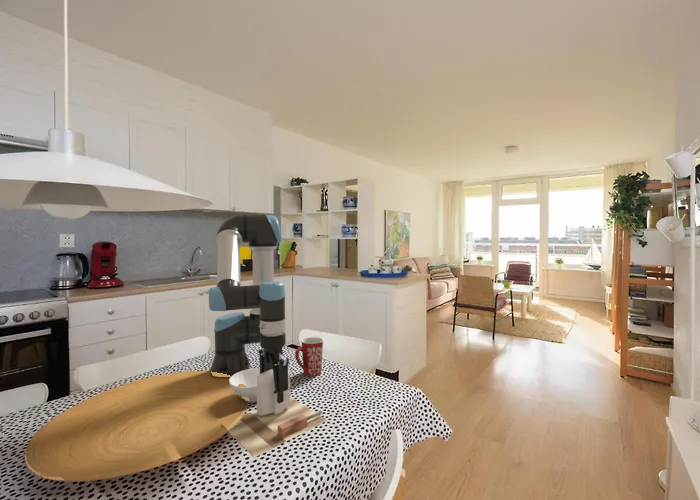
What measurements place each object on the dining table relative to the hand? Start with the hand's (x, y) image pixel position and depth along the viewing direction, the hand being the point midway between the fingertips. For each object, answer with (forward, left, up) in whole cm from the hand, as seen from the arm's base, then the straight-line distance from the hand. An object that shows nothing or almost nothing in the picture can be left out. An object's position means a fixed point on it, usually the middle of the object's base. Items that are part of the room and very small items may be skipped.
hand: (273, 408), depth 98 cm
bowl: (-16, +2, -3) cm, 16 cm away
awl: (+12, +2, -1) cm, 12 cm away
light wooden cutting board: (+5, -3, -3) cm, 6 cm away
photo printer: (0, 0, -1) cm, 1 cm away
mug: (-18, +27, -3) cm, 32 cm away
